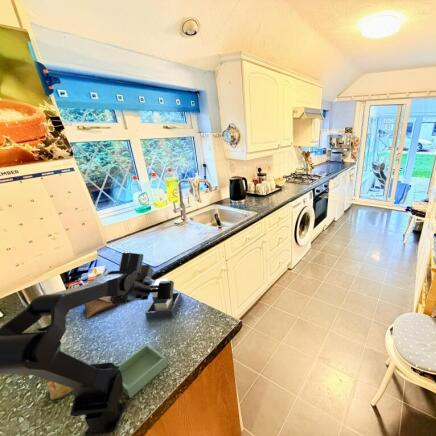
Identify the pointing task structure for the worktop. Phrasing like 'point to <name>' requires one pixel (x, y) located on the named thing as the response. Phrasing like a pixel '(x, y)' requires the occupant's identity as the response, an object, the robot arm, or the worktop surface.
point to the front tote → (141, 369)
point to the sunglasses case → (99, 306)
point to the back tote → (153, 314)
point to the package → (161, 304)
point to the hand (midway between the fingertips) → (154, 294)
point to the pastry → (57, 390)
